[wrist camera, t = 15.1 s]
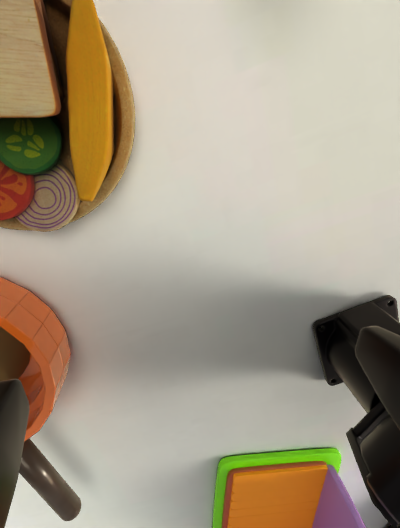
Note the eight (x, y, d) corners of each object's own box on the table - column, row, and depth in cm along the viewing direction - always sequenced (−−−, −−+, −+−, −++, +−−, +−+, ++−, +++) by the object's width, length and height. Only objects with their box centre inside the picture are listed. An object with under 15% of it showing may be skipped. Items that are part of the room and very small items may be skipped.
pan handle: (86, 498, 25) (82, 521, 23) (68, 505, 25) (62, 528, 23) (20, 418, 21) (9, 439, 20) (-2, 426, 21) (-14, 447, 20)
